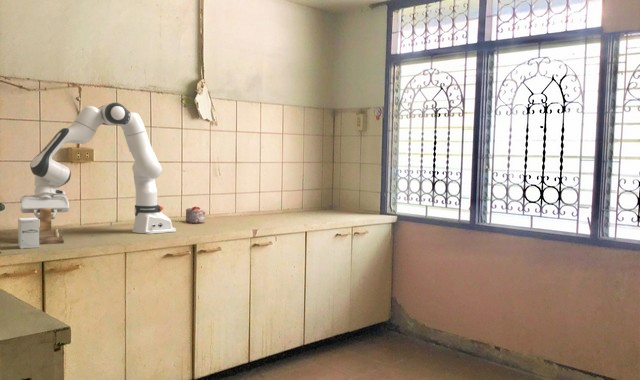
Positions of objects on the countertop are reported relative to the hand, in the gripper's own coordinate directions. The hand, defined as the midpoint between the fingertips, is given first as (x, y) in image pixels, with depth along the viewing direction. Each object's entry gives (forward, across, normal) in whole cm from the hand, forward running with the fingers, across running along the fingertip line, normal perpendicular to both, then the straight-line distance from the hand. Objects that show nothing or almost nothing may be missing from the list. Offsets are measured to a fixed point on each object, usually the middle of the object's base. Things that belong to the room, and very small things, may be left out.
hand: (45, 218), depth 244 cm
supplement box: (+16, -7, 0) cm, 17 cm away
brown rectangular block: (+3, 0, +4) cm, 5 cm away
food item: (-22, +82, +37) cm, 92 cm away
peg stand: (+7, 0, +8) cm, 11 cm away
